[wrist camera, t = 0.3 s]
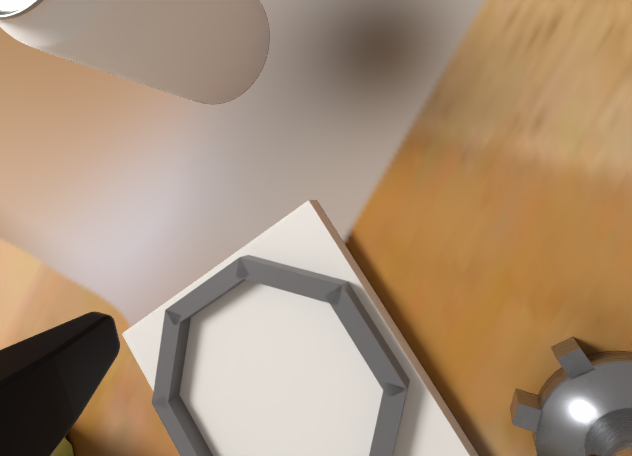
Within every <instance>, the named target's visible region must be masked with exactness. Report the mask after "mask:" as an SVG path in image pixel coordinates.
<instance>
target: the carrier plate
mask: <svg viewBox="0 0 632 456" xmlns="http://www.w3.org/2000/svg"><path fill="white" fill-rule="evenodd" d="M122 335H123V337H124V339H125V340H126V342H127V344H128V346H129V348H130V350H131V351H132V353H133V355H134V357H135V359H136V360H137V362H138V364H139V366H140V368H141V370H142V371H143V373H144V375H145V377H146V379H147V381H148V382H149V384H150V386H151V388H152V390H153V399H152V404H153V406H154V408H155V410H156V412H157V413H158V415H159V417H160V419H161V421H162V423H163V424H164V426H165V428H166V430H167V432H168V434H169V435H170V437H171V439H172V441H173V443H174V445H175V446H176V448H177V450H178V452H179V454H180V456H479V455H478V454H477V452H476V451H475V449H474V447H473V446H472V444H471V443H470V441H469V440H468V438H467V436H466V435H465V433H464V432H463V430H462V428H461V427H460V425H459V424H458V422H457V421H456V419H455V417H454V416H453V414H452V413H451V411H450V410H449V408H448V406H447V405H446V403H445V402H444V400H443V398H442V397H441V395H440V394H439V392H438V391H437V389H436V387H435V386H434V384H433V383H432V381H431V380H430V378H429V376H428V375H427V373H426V372H425V370H424V368H423V367H422V365H421V364H420V362H419V361H418V359H417V357H416V356H415V354H414V353H413V351H412V350H411V348H410V346H409V345H408V343H407V342H406V340H405V339H404V337H403V335H402V334H401V332H400V331H399V329H398V327H397V326H396V324H395V323H394V321H393V320H392V318H391V316H390V315H389V313H388V312H387V310H386V309H385V307H384V305H383V304H382V302H381V301H380V299H379V297H378V296H377V294H376V293H375V291H374V290H373V288H372V286H371V285H370V283H369V282H368V280H367V279H366V277H365V275H364V274H363V272H362V271H361V269H360V267H359V266H358V264H357V263H356V261H355V260H354V258H353V256H352V255H351V253H350V252H349V250H348V249H347V247H346V245H345V244H344V242H343V241H342V239H341V238H340V236H339V234H338V233H337V231H336V230H335V228H334V227H333V225H332V223H331V222H330V220H329V219H328V217H327V215H326V214H325V212H324V211H323V209H322V208H321V206H320V204H319V203H318V201H317V200H308V201H307V202H306V203H304V204H303V205H301V206H300V207H299V208H297V209H296V210H294V211H293V212H292V213H290V214H289V215H287V216H286V217H285V218H283V219H282V220H280V221H279V222H278V223H276V224H275V225H273V226H272V227H271V228H269V229H268V230H266V231H265V232H264V233H262V234H261V235H259V236H258V237H257V238H255V239H254V240H252V241H251V242H250V243H248V244H247V245H245V246H244V247H243V248H241V249H240V250H238V251H237V252H236V253H234V254H233V255H232V256H230V257H229V258H227V259H226V260H225V261H223V262H222V263H220V264H219V265H217V266H216V267H215V268H213V269H212V270H210V271H209V272H208V273H206V274H205V275H203V276H202V277H201V278H199V279H198V280H196V281H195V282H194V283H192V284H191V285H189V286H188V287H187V288H186V289H184V290H182V291H181V292H180V293H178V294H177V295H176V296H174V297H173V298H171V299H170V300H169V301H167V302H166V303H165V304H163V305H162V306H160V307H159V308H157V309H156V310H154V311H153V312H152V313H150V314H149V315H147V316H146V317H145V318H143V319H142V320H141V321H139V322H138V323H136V324H135V325H133V326H132V327H131V328H129V329H128V330H126V331H125V332H124V333H122Z"/></svg>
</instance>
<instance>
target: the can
mask: <svg viewBox="0 0 632 456" xmlns="http://www.w3.org/2000/svg"><path fill="white" fill-rule="evenodd" d="M0 27H1V28H2V29H3V30H4V31H5V32H7V33H8V34H9V35H10V36H12V37H13V38H15V39H16V40H18V41H20V42H22V43H24V44H26V45H28V46H31V47H33V48H36V49H38V50H41V51H44V52H47V53H50V54H52V55H56V56H58V57H61V58H64V59H67V60H70V61H73V62H76V63H79V64H82V65H85V66H88V67H91V68H94V69H98V70H100V71H103V72H106V73H109V74H112V75H115V76H118V77H121V78H125V79H127V80H131V81H133V82H137V83H140V84H143V85H146V86H149V87H152V88H155V89H158V90H161V91H164V92H167V93H170V94H173V95H177V96H180V97H183V98H186V99H189V100H192V101H196V102H200V103H204V104H221V103H225V102H228V101H231V100H233V99H235V98H237V97H238V96H240V95H241V94H243V93H244V92H245V91H246V90H247V89H248V88H249V87H250V86H251V85H252V84H253V83H254V81H255V80H256V79H257V77H258V76H259V74H260V72H261V70H262V68H263V66H264V63H265V61H266V58H267V54H268V49H269V39H270V37H269V36H270V33H269V24H268V19H267V16H266V13H265V10H264V8H263V6H262V4H261V3H260V1H259V0H0Z"/></svg>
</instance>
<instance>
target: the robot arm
mask: <svg viewBox="0 0 632 456" xmlns="http://www.w3.org/2000/svg"><path fill="white" fill-rule="evenodd" d="M119 349H120V342H119V337H118V333H117V329H116V325H115V321H114V319H113V318H112V317H111V316H110V315H107V314H103V313H100V312H90V313H87V314H85V315H83V316H80V317H78V318H75V319H73V320H71V321H68V322H66V323H64V324H61V325H59V326H56V327H54V328H52V329H49V330H47V331H45V332H42V333H40V334H37V335H35V336H33V337H30V338H28V339H25V340H23V341H21V342H18V343H16V344H14V345H11V346H9V347H6V348H4V349H2V350H0V456H51V454H52V453H53V452H54V450H55V449H56V448H57V446H58V445H59V444H60V442H61V441H62V440H63V438H64V437H65V436H66V434H67V433H68V432H69V430H70V429H71V428H72V426H73V425H74V423H75V422H76V421H77V419H78V417H79V416H80V414H81V413H82V411H83V410H84V408H85V407H86V405H87V404H88V402H89V400H90V399H91V397H92V395H93V394H94V392H95V391H96V389H97V387H98V386H99V384H100V383H101V381H102V379H103V378H104V376H105V374H106V373H107V371H108V370H109V368H110V366H111V365H112V363H113V362H114V360H115V358H116V357H117V355H118V352H119ZM587 456H600V455H596V454H589V455H587Z"/></svg>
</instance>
